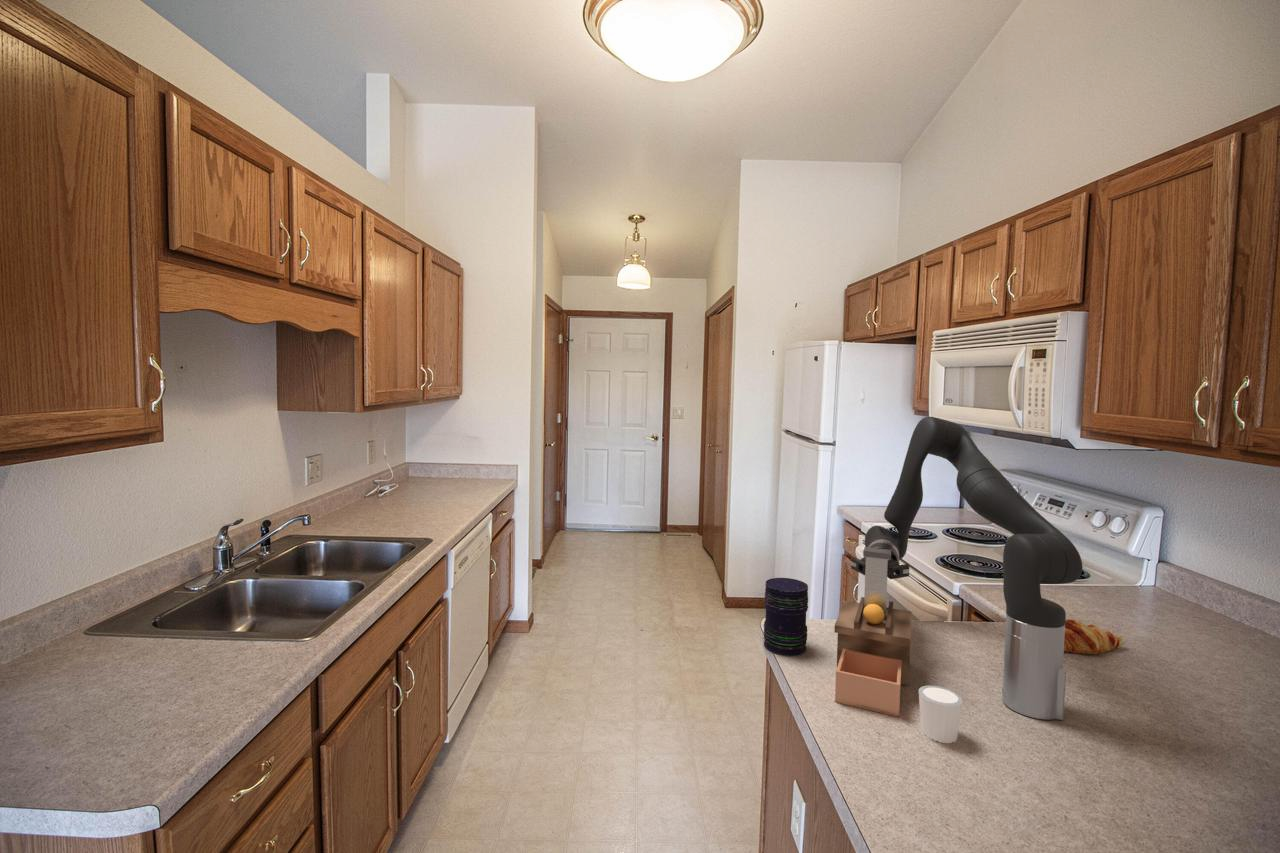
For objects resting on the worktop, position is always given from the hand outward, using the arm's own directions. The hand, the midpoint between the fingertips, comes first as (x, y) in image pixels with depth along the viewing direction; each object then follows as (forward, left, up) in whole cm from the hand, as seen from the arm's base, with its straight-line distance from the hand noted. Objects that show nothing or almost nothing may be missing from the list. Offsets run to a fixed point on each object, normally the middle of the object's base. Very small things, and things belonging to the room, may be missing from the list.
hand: (876, 577), depth 122 cm
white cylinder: (-12, +21, -20) cm, 31 cm away
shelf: (0, +3, -20) cm, 20 cm away
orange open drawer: (0, +13, -20) cm, 24 cm away
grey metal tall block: (0, +2, -8) cm, 8 cm away
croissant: (-43, -34, -20) cm, 59 cm away
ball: (0, +6, -6) cm, 8 cm away
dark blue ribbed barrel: (+19, -1, -20) cm, 28 cm away
